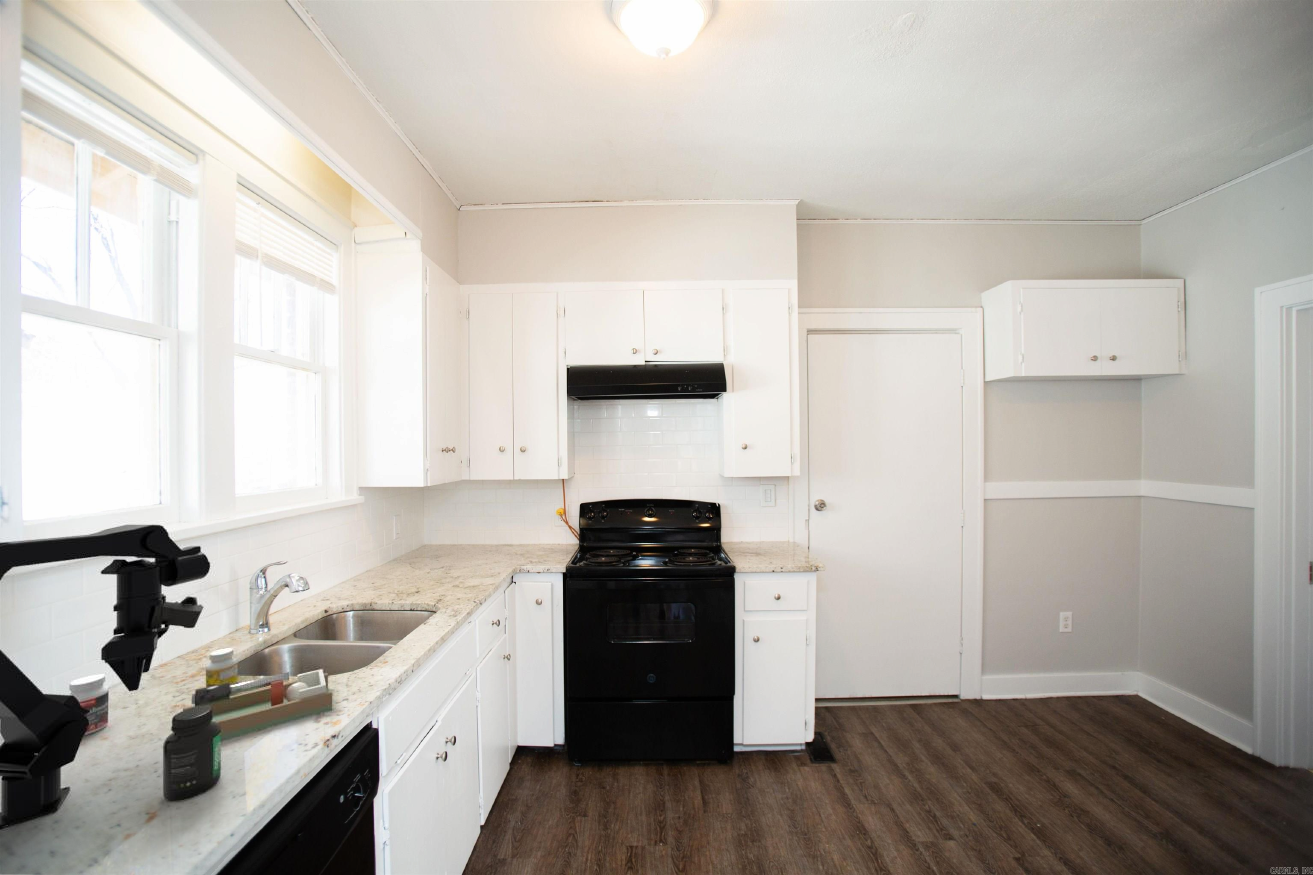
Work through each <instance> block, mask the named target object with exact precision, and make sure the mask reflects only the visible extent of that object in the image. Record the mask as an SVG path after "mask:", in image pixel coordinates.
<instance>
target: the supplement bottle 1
mask: <svg viewBox="0 0 1313 875" xmlns="http://www.w3.org/2000/svg"><path fill="white" fill-rule="evenodd" d="M212 720H213V714H212V706H206V705H205V706H198V707H193V708H190V709H187V710H184V711H183V710H182V711H180V712H178V713H176V714H175V715H173V717H172V719H171V728H170V730H171V733H170V734H169V735H168V736H166V738H165V740H164V741H163V745H162V792H163V793H162V796H163V798H164V799H165V800H166V801H167V802H172V801H176V802H182V800H183V801H185V800H186V799H187V800H189V799H193V798H195V797H198V796H201V795H202V794H205V793H207V792H208V791H210V790H211V789H213V788H214V787H215V786H216V785H217V784H218V783H219V781H220V780H221V776H222V772H221V771H222V740H221V728H220V725H219V724H218V723H216V722H214V721H212Z"/></svg>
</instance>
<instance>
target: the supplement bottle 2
mask: <svg viewBox="0 0 1313 875" xmlns="http://www.w3.org/2000/svg"><path fill="white" fill-rule="evenodd" d="M233 656H234V648H232V647H231V648H230V647H229V648H227V647H226V648H221V649H217V650H214V651H212V652H211V653H209V661H210V662H208V664H207V665H206V667H205V687H209V686H214V685H218V684H223V683H227V682H230V685H235V684H239V682H238V681H239V680H238V659H237V658H236V657H233ZM230 696H232V695H230Z"/></svg>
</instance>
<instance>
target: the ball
mask: <svg viewBox="0 0 1313 875" xmlns="http://www.w3.org/2000/svg"><path fill="white" fill-rule="evenodd" d="M306 688H308V686H307V685H306V684H305V683H302V682H298V683H295V684H293V685H291V686H290V687H289V688H288V689H287V691H286V695H285V697H286V700H287V701H288V702H290V701H294V700H298V699H299V690H302V689H306Z"/></svg>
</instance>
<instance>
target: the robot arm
mask: <svg viewBox="0 0 1313 875" xmlns="http://www.w3.org/2000/svg"><path fill="white" fill-rule="evenodd" d="M95 557H96V558H97V557H121V558H122V557H123V558H124V557H135V558H136V559H135V560H130V561H128V560H127V559H123V558H122V559H119V558H118V559H117V558H116V559H113V560H112V561H111V563H110V564H108V565H107V566H105V567H104V568H103V569H102V570H101V571H100V574H101V575H110V576H111V575H116V603H115V604H114V605H113V610H112V612H114V613H115V612H116V626H115V628H113V631H112V632H113V634H112V635H113V637H112V638H111V639H109V640H108V641H107V642H106V643H105V644H104V645H103V646H102V647H101V649H100V650H101V651H100V654H101V656H100V658H101V659H100V660H101V661H104V663H105V664H107V665H108V666H109V668H111V670H112V671H113V672H114V673H115V674H116V676H117V677H118V679H119V680H120V681H121V683H122V684H123V685H124V687H125V688H126V690H127V691H129V692H134V691H138V690H139V687H140V684H141V679H142V677H143V676H142V675H143V674H144V673H148V672H149V671H150V669H151V665H152V662H153V658H154V654H155V651H156V650H157V648H158V641H159V639H160V638H161V637H163V635H165V634H166V633H167V632H168V631H169V629H170V626H175V627H183V628H184V629H194V628H195V627H196V625H197V624H198V621H199V619H200V616H201V614H202V611H203V610H204V605H202V604H200V603H199V604H198V598H197V597H195V596H186V597H185V598H183V600H180V602H179V601H175V602H171V601H167V596H166V595H165V593H162V592H163V590H162V587H163V586H164V587H168V588H170V587H173V586H178V585H181V584H182V585H183V584H185V583H189V582H194V581H197V580H202V579H204V578H205V577H206V576H207V575H208V574H209V573H210V569H211V562H210V561H209V559H208V556H207V555H206V554H205V553H204V552H202V547H201V546H200V545H190V546H186V547H183V548H181V547H180V546H179V545H177V544H176V542H175V541H174V540H173V539H172V538H170V535H169V532H168V530H167V529H166V528H165V527H164V526H163V525H161V524H124V525H123V524H122V525H119V526H115V527H114V526H113V527H110V528H106V529H103V530H100V531H97V532H94V533H89V534H82V535H81V534H80V535H72V536H71V535H70V536H59V537H49V538H37V539H25V540H17V541H15V540H14V541H4V542H1V541H0V581H1V580H2V579H3V578H4V577H5V575H6V573H8V572H9V571H10V570H12V569H13V568H17V567H18V568H19V567H25V566H33V565H41V564H42V565H43V564H49V563H51V564H52V563H56V562H65V561H71V560H72V561H74V560H81V559H89V558H95ZM149 559H154V561H151V560H149ZM163 625H164V627H162V626H163ZM89 712H90V710H86V709H84V708H83V707H81V705H80V703H79V701H78V700H77V698H76V697H75V696H73V695H69V694H54V693H53V694H51V693H43V691H42V690H40V688H38V686H36V684H35V683H34V682H33V681H32V680H31V679H30V678H29V677H28V676H27V675H26V674H25V673H24V672H23V671H22V670H21V669H20V668H19V666H17V665H16V664H15V663H14V661H12V660H11V658H10V657H8V656H7V655H6V654H5V653H4V652H3V651H2V649H0V735H1V737H2V739H3V740H4V741H3V742H2V743H1V745H0V777H1V779H0V780H1V781H0V782H1V784H0V786H1V788H0V789H1V792H0V793H1V795H0V796H1V797H0V798H1V799H0V801H1V802H0V808H1V809H0V829H1V828H4V826H5V827H7V826H6V825H8V826H11V824H12V825H14V824H18V823H22V822H25V821H28V820H32V819H35V818H38V817H42V816H45V815H48V814H52V813H54V812H56V811H57V810H59V808H60V807H61V805H62V804H63V802H64V800H65V798H66V797H67V795H68V793H69V792H70V791H71V790H70V789H71V787H70V786H66V787H62V767H64V766H67V765H69V764H71V763H72V762H74V761H75V759H76V756H77V753H78V751H79V748H80V746H81V742H82V740H83V738H84V736H86V735H85V733H86V731H87V727H88V726H89V725H90V722H89V719H88V717H87V716H86V715H85V714H87V713H89Z"/></svg>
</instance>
